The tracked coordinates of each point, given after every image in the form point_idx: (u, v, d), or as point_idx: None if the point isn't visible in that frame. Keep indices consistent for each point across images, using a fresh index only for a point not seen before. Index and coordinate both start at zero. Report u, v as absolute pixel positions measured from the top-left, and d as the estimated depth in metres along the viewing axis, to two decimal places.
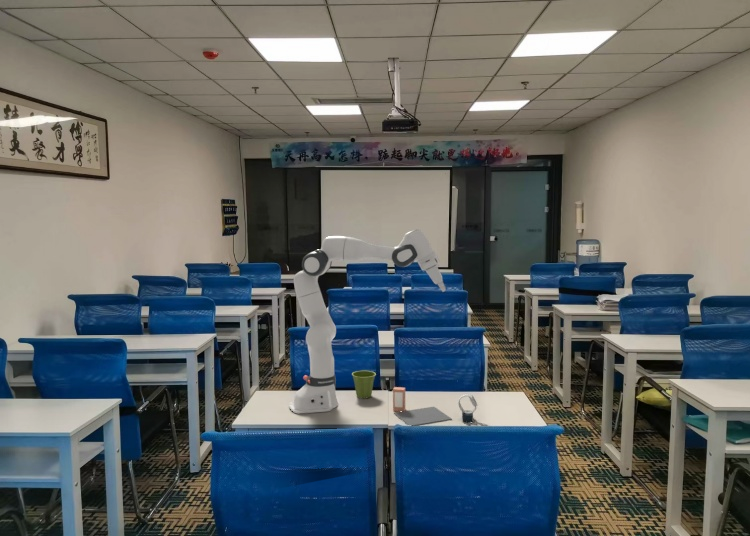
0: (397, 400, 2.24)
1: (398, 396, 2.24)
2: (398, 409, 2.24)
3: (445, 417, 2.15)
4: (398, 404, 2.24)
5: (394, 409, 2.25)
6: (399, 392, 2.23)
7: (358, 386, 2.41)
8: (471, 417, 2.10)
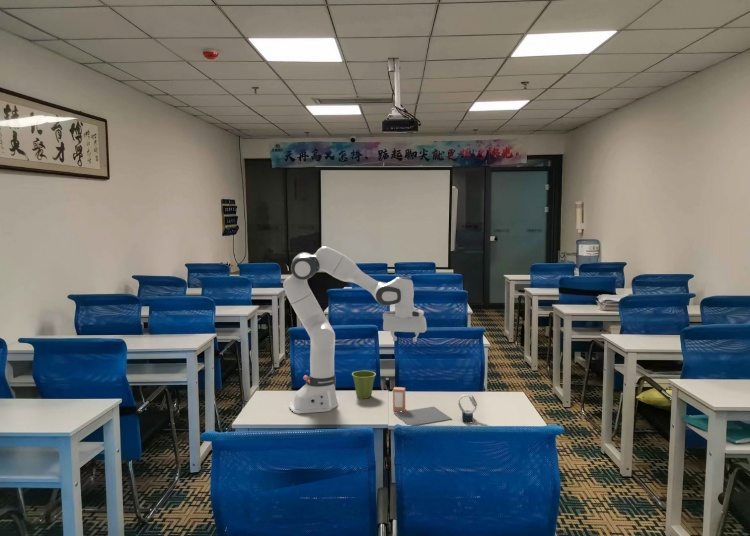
0: (397, 400, 2.24)
1: (398, 396, 2.24)
2: (398, 409, 2.24)
3: (445, 417, 2.15)
4: (398, 404, 2.24)
5: (394, 409, 2.25)
6: (399, 392, 2.23)
7: (358, 386, 2.41)
8: (471, 417, 2.10)
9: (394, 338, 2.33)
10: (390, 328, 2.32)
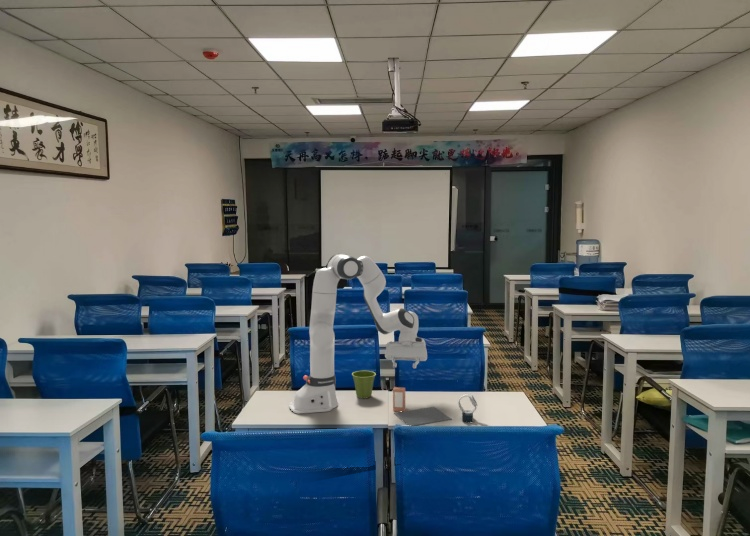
0: (397, 400, 2.24)
1: (398, 396, 2.24)
2: (398, 409, 2.24)
3: (445, 417, 2.15)
4: (398, 404, 2.24)
5: (394, 409, 2.25)
6: (399, 392, 2.23)
7: (358, 386, 2.41)
8: (471, 417, 2.10)
9: (394, 363, 2.38)
10: (391, 353, 2.40)
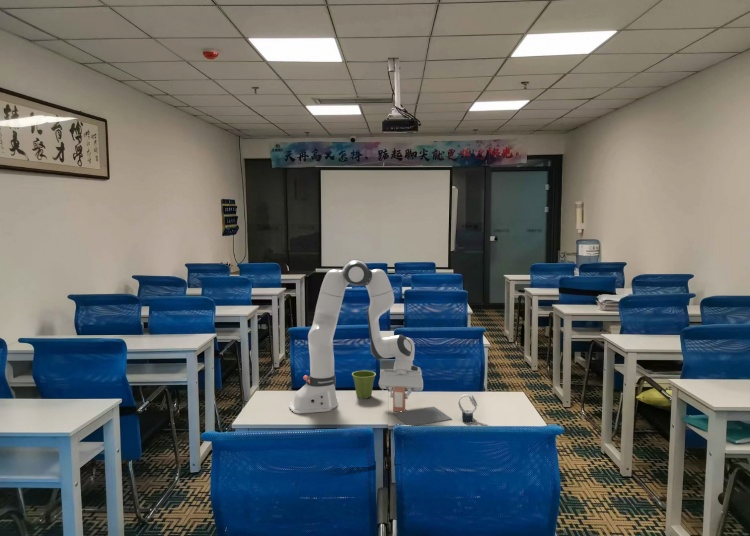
0: (397, 400, 2.24)
1: (398, 396, 2.24)
2: (398, 409, 2.24)
3: (445, 417, 2.15)
4: (398, 404, 2.24)
5: (394, 409, 2.25)
6: (399, 392, 2.23)
7: (358, 386, 2.41)
8: (471, 417, 2.10)
9: (392, 393, 2.26)
10: (386, 383, 2.29)
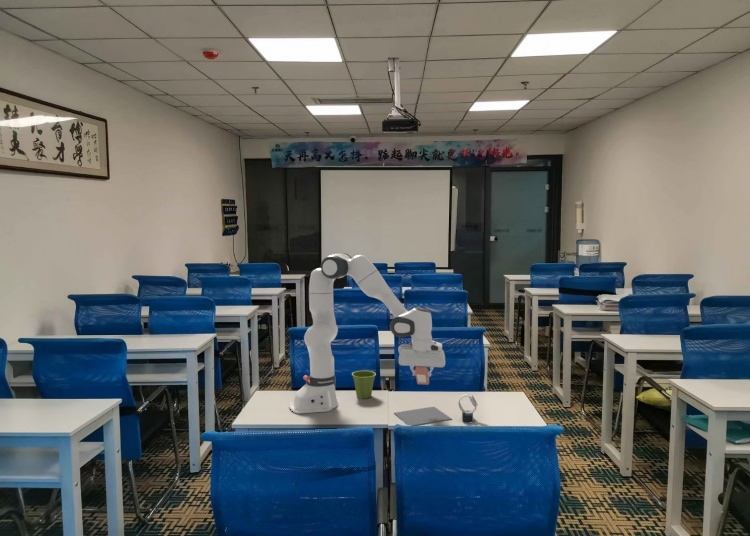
0: (421, 378, 2.19)
1: (421, 376, 2.18)
2: (422, 383, 2.22)
3: (445, 417, 2.15)
4: (422, 381, 2.21)
5: (418, 383, 2.23)
6: (422, 375, 2.17)
7: (358, 387, 2.41)
8: (471, 417, 2.10)
9: (414, 373, 2.19)
10: (406, 362, 2.18)
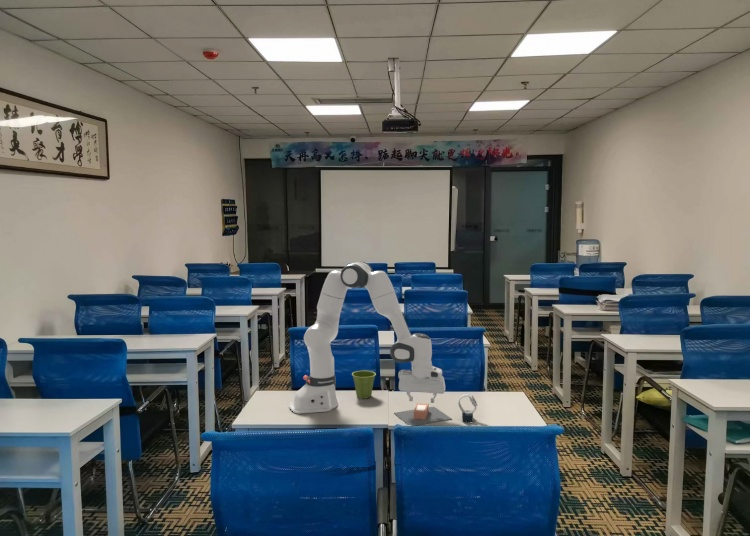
0: None
1: None
2: None
3: (445, 417, 2.15)
4: None
5: None
6: None
7: (358, 386, 2.41)
8: (471, 417, 2.10)
9: (410, 398, 2.20)
10: (406, 388, 2.19)
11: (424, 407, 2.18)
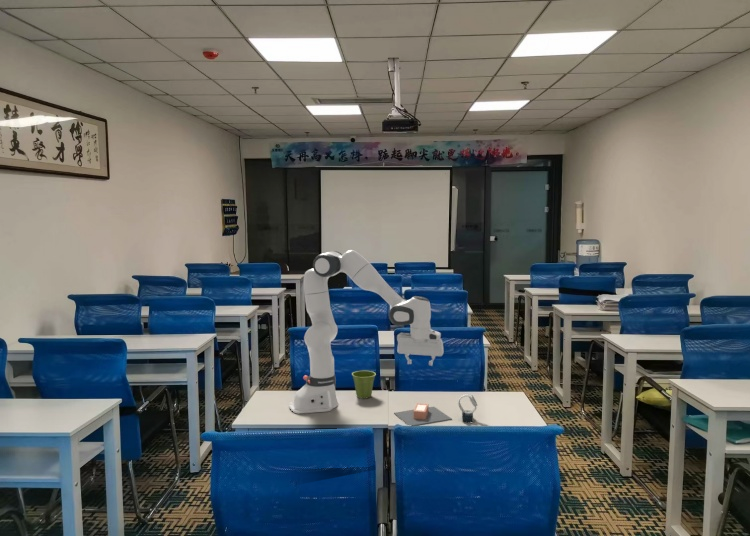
0: None
1: None
2: None
3: (445, 417, 2.15)
4: None
5: None
6: None
7: (358, 386, 2.41)
8: (471, 417, 2.10)
9: (409, 361, 2.21)
10: (404, 351, 2.20)
11: (424, 407, 2.18)
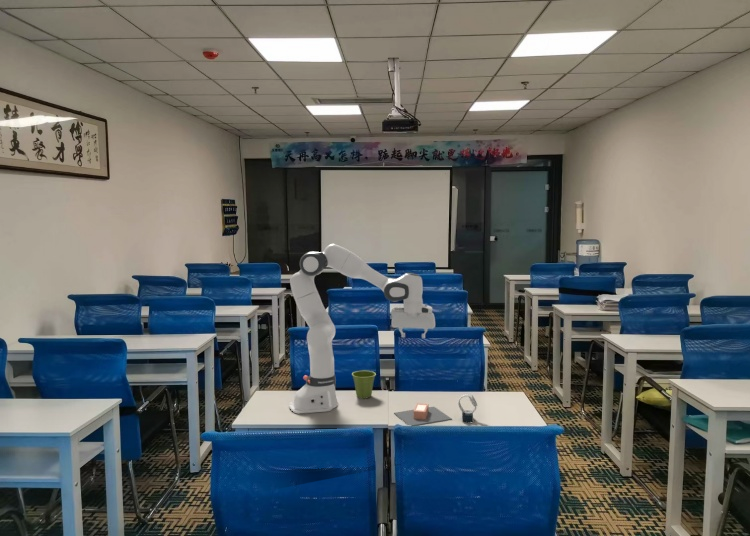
0: None
1: None
2: None
3: (445, 417, 2.15)
4: None
5: None
6: None
7: (358, 386, 2.41)
8: (471, 417, 2.10)
9: (403, 334, 2.33)
10: (398, 325, 2.32)
11: (424, 407, 2.18)
